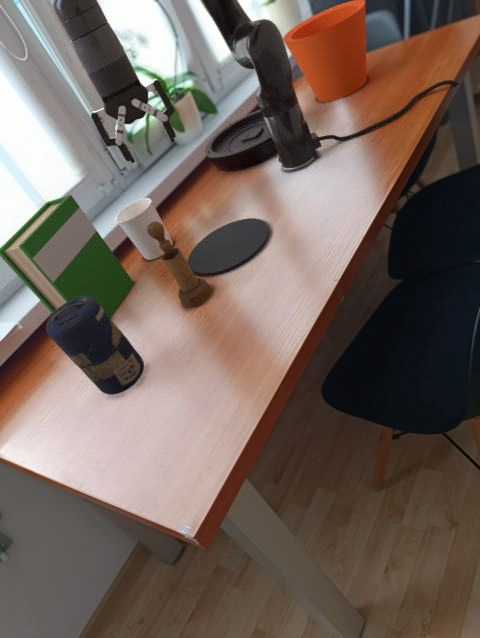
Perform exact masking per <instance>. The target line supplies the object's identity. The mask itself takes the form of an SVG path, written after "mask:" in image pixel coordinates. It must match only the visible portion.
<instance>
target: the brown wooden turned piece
mask: <svg viewBox="0 0 480 638" xmlns="http://www.w3.org/2000/svg"><path fill="white" fill-rule="evenodd" d="M147 231H148V234H149V235H150V236H151V237H152V238H154V239H156V240H158V242H159V244H160V245H159V247H160V249H161V250H162V251H163V252H164V254H163V255H162V256H161V260H162V262H163V263H164V264H165V266H166V268H167V269H168V271H169V273H170V274H171V275H172V277H173V279H174V280H175V282H176V284H177V285H178V287H179V290H178V293H177V296H178V299H179V300H180V301H181V303H182V305H183V306H184V307H185V308H194V307H198V306H200V305H201V304H203V303H204V302H205V301H207V300H208V299H209V297H210V296H211V293H212V289H211V286H210V285H209V283H208V281H207V280H206V279H205V278H203V277H197V275H196V274H195V273H193V271H192V269H191V267H190V266H189V264H188V260H187V259H186V258H185V255H184V254H183V252H182V250H181V249H180V248H179V247H173V245H172V246H171V243H170V241H169V240H166V239H165V236H164V227H163V225H162V224H161V223H159V222H157V221H154V222H151V223H150V224H149V225H148V227H147Z"/></svg>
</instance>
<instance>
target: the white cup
mask: <svg viewBox="0 0 480 638" xmlns="http://www.w3.org/2000/svg"><path fill="white" fill-rule="evenodd" d="M153 203H154V202H153V201H152V199H151V198H149V197H144V198H140V199H136V200H135V201H133V202H130V203H129V204H128V205H126V206H124V207H123V208H122V209H121V210H120V211H119V212H118V213H117V214H116V216H115V218H114V219H115V222H116V223H117V224H118V226H119V227H120V228H121V229H122V231H123V232H124V234H125V235H126V236H127V238H128V239H129V241H131V243H132V244H133V245H134V247H135V248H136V249H137V250H138V252H139V253H140V255H141V256H142V257H143V258H144V259H145V260H147V261H152V260H156V259H158V258H160V257H161V258H162V256H163V254H164V252H163V251H162V250H161V249H160V247H159V245H160V244H159V242H158V240H156V239H154V238H152V237H151V236H150V235H149V234H148V231H147V227H148V225H149V224H150V223H151V222H154V221H157V222H159V223H161V224H162V225H163V227H164V236H165V239H166V240H169V241H170V243H171V246H172V247H173V244H174V242H173V239H172V238H171V236H170V234H169V232H168V230H167V228H166V225H165V224H164V221H163V220H162V218H161V216H160V215H159V213H158V211H157V209H156V207H155V205H154V204H153Z"/></svg>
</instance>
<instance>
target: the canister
mask: <svg viewBox="0 0 480 638" xmlns="http://www.w3.org/2000/svg"><path fill="white" fill-rule="evenodd" d="M45 330H46V334H47V335H48V337H49V338H50V339H51V340H52V341H53V342H54V343H55V344H56V345H57V346H58V347H59V349H61V351H62V352H64V354H65V355H66V356H67V357H68V358H69V359H70V361H71V362H73V363H74V365H75V366H77V367H78V368H79V370H81V372H82V373H83V374H84V375H85V376H86V377H87V378H88V379H89V381H90V382H92V383H93V384H94V386H95V387H96V388H97V389H99V391H101V392H102V393H104V394H105V395H109V396H111V395H112V396H113V395H114V396H115V395H118V394H122V393H124V392H126V391H127V390H129V389H130V388H132V387H133V386H134V385H136V383H137V382H138V381H139V380H140V378H141V377H142V376H143V373H144V369H145V361H144V359H143V358H142V356H141V355H140V353H138V351H137V350H136V349H135V347H134V346H133V345H132V343H131V342H130V341H129V340H128V338H127V337H126V335H125V334H124V333H123V331H122V330H121V329H120V328H119V327H118V326H117V325H116V324H115V322H114V321H113V320H112V319H111V318H110V317H109V316H108V315H107V314H106V312H105V311H104V310H103V308H102V307H101V306H100V305H99V303H98V302H97V301H96V300H95V299H94V298H93V297H90V296H80V297H76V298H74V299H72V300H70V301H68V302H66V303H65V304H63V305H62V306H60V307H59V308H58V309H57V310H56V311H55V312H54V313H53V314H52V313H51V315H50V316H49V318H48V320H47V322H46V325H45Z"/></svg>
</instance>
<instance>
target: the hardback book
mask: <svg viewBox="0 0 480 638" xmlns="http://www.w3.org/2000/svg"><path fill="white" fill-rule="evenodd" d="M0 258H1V259H2V260H3V261H4V262H5V263H6V265H8V267H10V268H11V270H12V271H13V273H15V274H16V275H17V277H18V278H20V280H21V281H22V282H23V283H24V284H25V285H26V286H27V287H28V288H29V290H30V291H31V292H32V293H33V294H34V295H35V296H36V297H37V298H38V300H40V302H41V303H42V304H43V305H44V306H45V307H46V308H47V310H49V312H50V313H51V315H52V314H53V313H54V312H55V311H56V310H57V309H58V308H59V307H60V306H62V305H63V304H65V303H66V302H68V301H70V300H72V299H74V298H76V297H80V296H90V297H93V298H94V299H95V300H96V301H97V302H98V303H99V305H100V306H101V307H102V308H103V310H104V311H105V312H106V314H107V315H108V316H109V317H110V318H111V317H113V315H114V313H115V312H116V310H117V309H118V308H119V306H120V304H121V303H122V301H123V300H124V298H125V297H126V296H127V294H128V293H129V291H130V290H131V288H132V287H133V285H134V284H135V282H134V280H133V279H132V278H131V276H130V275H129V273H128V271H126V269H125V268H124V266H123V265H122V263H121V262H120V261H119V259H118V258H117V256H116V255H115V254H114V252H113V251H112V250H111V248H110V247H109V245H108V244H107V242H106V241H105V240H104V238H103V237H102V235H100V233H99V231H97V229H96V227H95V226H94V225H93V223H92V222H91V221H90V219H89V218H88V216H87V215H86V214H85V212H84V211H83V209H82V208H81V207H80V205H79V204H78V202H77V201H76V199H75V198H74V197H73V195H72V194H69V195H66V196H62V197H59V198H55V199H52V200H48V201H46V202H45V203H44V204H43V205H42V206H41V207H40V208H39V209H38V210H37V211H36V212H35V213H34V214H32V216H31V217H30V218H29V219H28V220H27V221H26V222H25V223H24V224H23V225H22V226H21V227H20V228H19V229H18V230H17V231H16V232H15V233H14V234H13V235H12V236H11V237H10V238H9V239H8V240H7V241H6V242H5V243H4V244H3V245H1V246H0Z"/></svg>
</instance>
